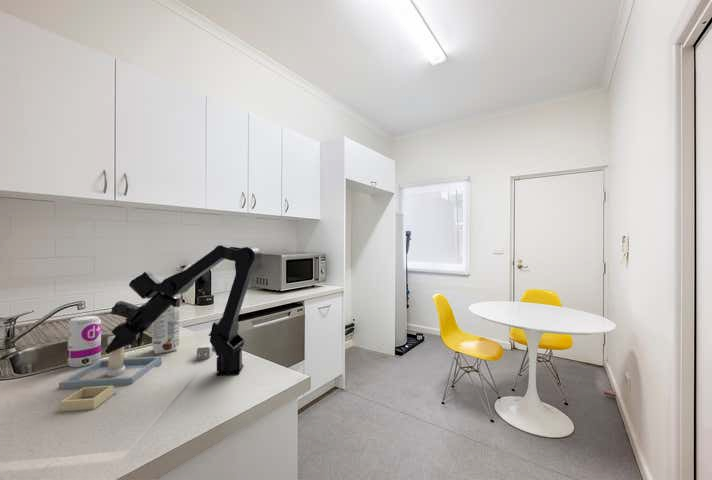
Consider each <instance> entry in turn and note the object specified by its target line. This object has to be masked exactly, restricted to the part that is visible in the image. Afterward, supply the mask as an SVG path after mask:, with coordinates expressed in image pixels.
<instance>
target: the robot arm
mask: <svg viewBox="0 0 712 480" xmlns="http://www.w3.org/2000/svg"><path fill="white" fill-rule="evenodd" d="M262 258H263V253H262V251H261V249H259V248H258V247H257V246H244V247H235V246H229V245H226V244H222V245H217V246H216V247H214V249H213V250H211V251H210V252H208V253H206V255H204V256H203V257H201V258H200V259H199V260H197V261H196V262H195V263H193V264H191V265H190V266H189V267H187V268H186V269H184V270H183V271H180V272H177V273H175V274H173V275H171V276H168V277H167V278H164V279H163V280H162V281H160V280H158V279H157V277H155V276H154V275H153V274H152V272H151V271H144V272H143V273H142V274H140V275H138V276H136V277H134V278H133V279H132V280H130V282H129V284H128V286H129V288H130V289H132V291H133V292H134V293H136V294H137V295H138V296H139V297H140V298H141V299H144V300H145V299H149V300H147V301H146V302H145V303H144V304H142V305H141V306H138V305H136V304H133V303H129V302H125V301H123V300H118V301H117V302H115V304H114V306H112V307H111V311H110V315H114V316H115V315H116V316H118V317H123V318H125V322H121V323H119V324H117V325H116V326H115V327H114V328H113V329H112V330H111V333H112V334H113V336H114V335H115V338H114V339H113V341H112V342H111V343H110V345H107V348H106V349H105V350H104V353H106V354H109V353H110V352H113V351H115V350H117V349H119V348H121V347H124V348H125V347H127V346H128V345H129V346H131V345H132V344H133V343H135V341H137V339H139V338H140V335H142V334H143V333H144V332H145V331H147V330H148V329H149V328H150V327H152V323H153V322H154V321H155V320H156V319H157V318H158V317H159V316H161V315H162V314H163V313H164V312H165V311H166V310H167V309H168V308H169V307H170V306H171V305H172V306H173V307H179V308H180V307H181V298H180V297H179V298H177V297H176V299H175V298H174V296H178V295H181V294H185V293H186V292H188V291H189V290H190V289H191V288H192V287H193V286H194V284H195V283H196V281H197V280H198V279H199V278H201V276H203V275H204V274H206V273H207V272H208V271H210V270H212V269H213V268H215V266H217V265H218V264H220V263H221V262H223V261H224V260H228V261H232V262H234V269H235V270H234V271H235V275H234V279H233V282H232V285H231V288H230V292H229V295H228V297H227V301H226V304H225V307H224V311H223V314H222V316H221V318H220V319H218V320H217V321H214V322H213V323H212V325H211V330H210V333H208V337H210V338H209V343H211V344H212V348H213V349H214V353H215V355H216V356H217V357H216V376H229V375H230V376H231V375H233V376H234V375H240V373H241V371H242V369H243V368H244V364H243V349H242V347H243V346H244V345H245V342H246V340H245V339H244V338H243V336H241V334H239V329H240V328H239V327H240V326H239V315H240V313H241V308H242V305H243V303H244V300H245V296H246V293H247V289H248V288H249V287H248V286H249V284H250V281H251V277H252V275H253V274H254V272H255V271H256V270H257V268H258V267H259V265H260V262H261V260H262Z"/></svg>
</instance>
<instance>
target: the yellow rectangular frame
mask: <svg viewBox="0 0 712 480" xmlns="http://www.w3.org/2000/svg"><path fill="white" fill-rule="evenodd" d="M114 386H115V385H107V386H92V387H80V389H78V390H77V391H75V392H73V393H72V394H70V395H69V396H67V397H65V398H64V399H62V400H61V401H59V410H58V411H55V414H63V413H73V412H74V413H77V412H87V411H95V410H97V409H98V408H100V406H102V405H103V404H105V403H106V402H107V401H108V400H110V399H112V397H114V396H115V395H116V394H117V392H114V390H115V389H114Z"/></svg>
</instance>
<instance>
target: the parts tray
mask: <svg viewBox="0 0 712 480" xmlns="http://www.w3.org/2000/svg"><path fill="white" fill-rule="evenodd" d="M108 359H109V358H107V359H99V361H98V362H96V363H94V364H91V365H88V366H86V368H84V369H82V370H80V371H77V372H76V373H74V374H72V375H71V376H69V377H67V378H65V379H63V380H62V381H60V382H58V389H59V390H60V389H61V390H62V389H73V388H76V389H77V388H83V387H97V386H112V385H114V386H119V385H133V384H134V383H136V382H137V381H138V380H139V379H141V378H142V377H143V376H145V375H146V374H147V373H149V372H150V371H151V370H153V369H155V368H159V367H160V366H161V365H162V356H147V357H146V356H145V357H130V358H125V357H124V365H125V370H131V369H132V370H133V369H140V370H138V371H137V372H136V373H134V374H132V375H131V376H125V377H124V376H122V377H121V376H120V377H108V378H107V377H106V378H92V379H82V378H84V377H85V376H87V375H88V374H90V373H92V372H96V371H97V372H99V371H101V372H102V371H106V369H107V368H108Z"/></svg>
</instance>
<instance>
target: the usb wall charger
mask: <svg viewBox="0 0 712 480" xmlns="http://www.w3.org/2000/svg"><path fill="white" fill-rule="evenodd" d="M212 353H213V346H212V344H211V343H210V342H206V343H201V344H200V345H199V346H198V348H197V349H196V359H197V360H206V359H207V358H208V359H210V358H211V355H212Z"/></svg>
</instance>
